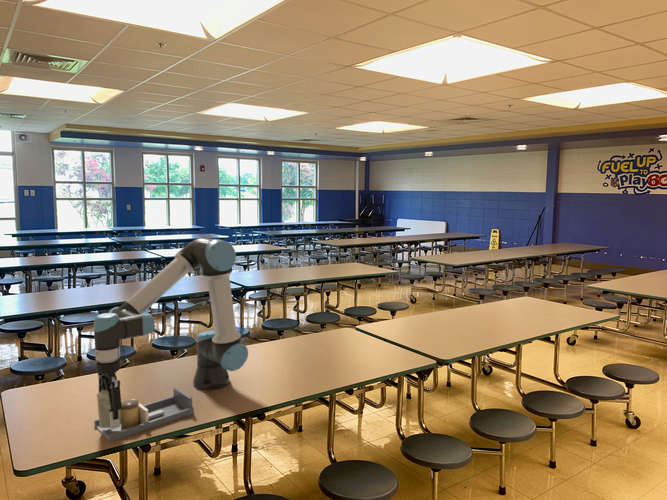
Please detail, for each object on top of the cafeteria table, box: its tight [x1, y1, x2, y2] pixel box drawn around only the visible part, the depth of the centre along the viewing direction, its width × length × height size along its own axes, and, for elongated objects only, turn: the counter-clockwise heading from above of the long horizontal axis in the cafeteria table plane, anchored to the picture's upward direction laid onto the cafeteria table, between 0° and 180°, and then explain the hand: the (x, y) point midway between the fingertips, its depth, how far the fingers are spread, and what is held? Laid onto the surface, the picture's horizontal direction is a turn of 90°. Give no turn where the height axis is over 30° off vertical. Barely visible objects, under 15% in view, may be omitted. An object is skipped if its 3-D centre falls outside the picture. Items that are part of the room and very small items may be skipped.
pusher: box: [130, 398, 164, 423], centre depth 172 cm, size 12×9×6 cm
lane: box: [93, 387, 195, 443], centre depth 171 cm, size 15×30×6 cm, turn 135°
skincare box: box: [96, 390, 122, 428], centre depth 162 cm, size 6×4×12 cm
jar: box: [121, 399, 140, 429], centre depth 167 cm, size 6×6×8 cm
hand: (110, 423), depth 162 cm, fingers closed on skincare box, 7 cm apart
